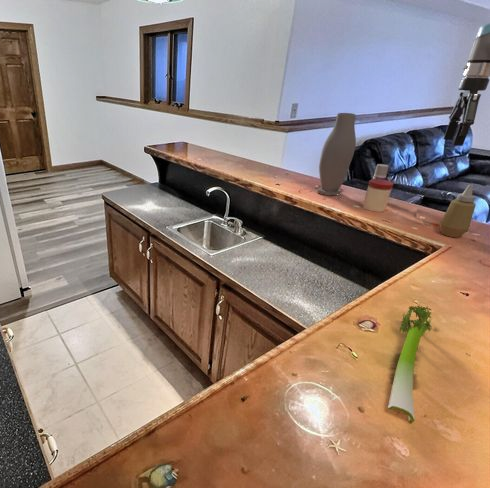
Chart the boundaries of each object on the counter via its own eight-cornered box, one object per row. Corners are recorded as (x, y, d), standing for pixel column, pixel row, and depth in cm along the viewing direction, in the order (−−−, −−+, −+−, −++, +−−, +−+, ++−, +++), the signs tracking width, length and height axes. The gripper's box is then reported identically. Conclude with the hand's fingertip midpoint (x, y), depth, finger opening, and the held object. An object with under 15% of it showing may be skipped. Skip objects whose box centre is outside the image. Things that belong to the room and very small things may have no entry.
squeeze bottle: (435, 228, 127) (454, 180, 119) (463, 233, 124) (484, 183, 116) (437, 236, 121) (457, 186, 113) (466, 241, 118) (489, 190, 109)
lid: (367, 187, 140) (368, 182, 139) (369, 182, 147) (370, 177, 146) (392, 190, 136) (393, 186, 135) (392, 185, 143) (393, 181, 142)
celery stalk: (371, 413, 60) (395, 314, 80) (417, 439, 57) (430, 329, 77) (387, 393, 56) (408, 295, 77) (437, 419, 53) (445, 310, 74)
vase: (329, 187, 170) (346, 111, 155) (350, 195, 160) (371, 114, 144) (307, 190, 166) (323, 112, 150) (328, 199, 155) (347, 115, 140)
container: (381, 199, 156) (391, 165, 149) (375, 200, 154) (385, 167, 147) (371, 196, 160) (380, 163, 153) (365, 197, 157) (374, 164, 151)
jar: (385, 207, 147) (393, 182, 142) (384, 213, 140) (392, 188, 136) (363, 203, 151) (369, 179, 146) (361, 209, 144) (368, 184, 140)
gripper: (452, 77, 128) (432, 136, 138) (473, 77, 108) (448, 147, 117) (478, 77, 126) (456, 138, 135) (504, 77, 105) (476, 149, 114)
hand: (452, 142), depth 126 cm, fingers open, 13 cm apart
